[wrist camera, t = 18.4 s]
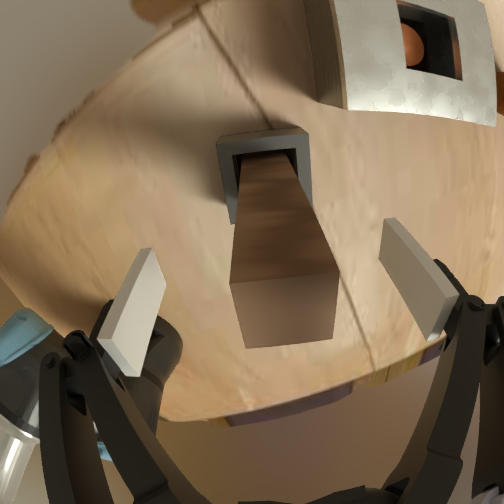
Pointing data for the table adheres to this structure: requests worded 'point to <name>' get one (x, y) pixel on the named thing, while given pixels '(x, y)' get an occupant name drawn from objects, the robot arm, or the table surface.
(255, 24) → the table surface
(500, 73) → the disposable coffee cup
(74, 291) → the table surface
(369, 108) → the box
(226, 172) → the gray square socket
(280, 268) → the brown wooden bar
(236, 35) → the table surface
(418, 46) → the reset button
